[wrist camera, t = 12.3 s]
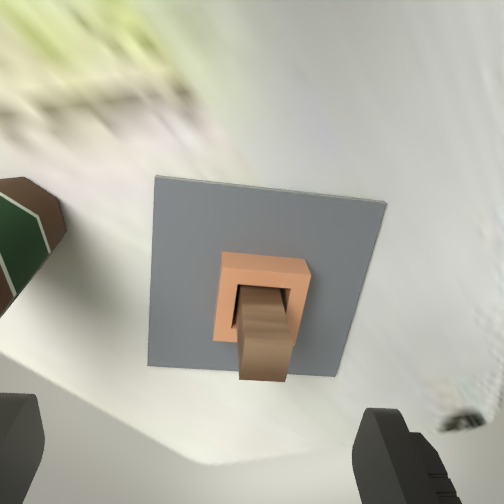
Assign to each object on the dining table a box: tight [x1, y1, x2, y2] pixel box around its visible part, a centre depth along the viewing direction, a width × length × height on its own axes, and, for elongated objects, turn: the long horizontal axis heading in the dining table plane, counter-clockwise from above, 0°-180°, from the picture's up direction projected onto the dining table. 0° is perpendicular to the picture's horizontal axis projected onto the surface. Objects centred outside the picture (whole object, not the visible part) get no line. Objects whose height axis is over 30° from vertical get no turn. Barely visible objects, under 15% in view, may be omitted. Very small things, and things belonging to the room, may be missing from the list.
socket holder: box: [147, 175, 386, 377], centre depth 39 cm, size 20×20×4 cm
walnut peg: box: [235, 284, 293, 382], centre depth 35 cm, size 4×4×10 cm
